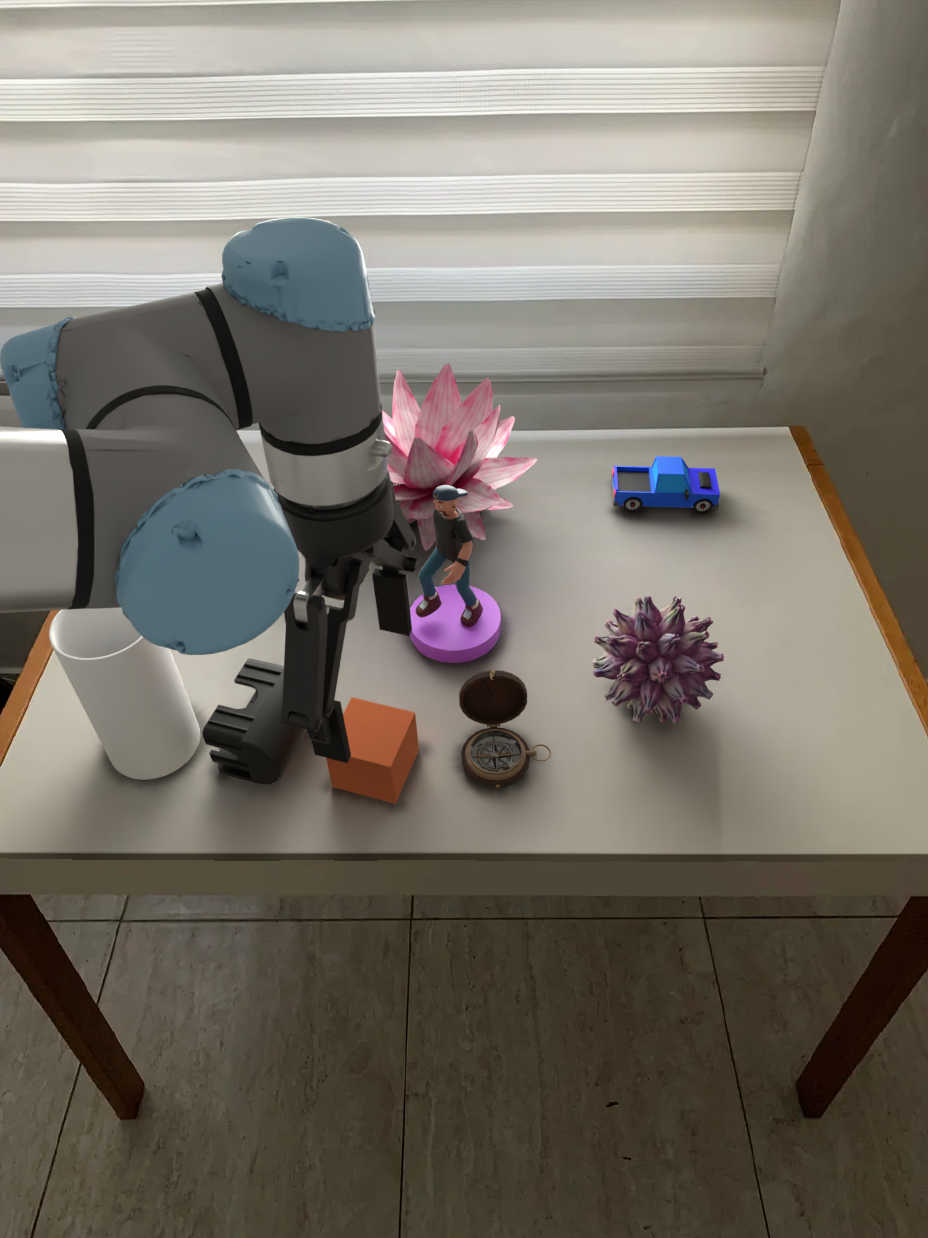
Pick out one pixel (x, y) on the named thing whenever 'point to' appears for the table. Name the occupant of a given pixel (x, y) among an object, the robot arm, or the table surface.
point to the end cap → (254, 729)
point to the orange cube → (376, 750)
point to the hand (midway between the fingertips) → (366, 689)
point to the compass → (495, 729)
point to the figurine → (452, 593)
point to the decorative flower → (449, 451)
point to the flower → (657, 659)
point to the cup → (127, 691)
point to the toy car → (665, 486)
